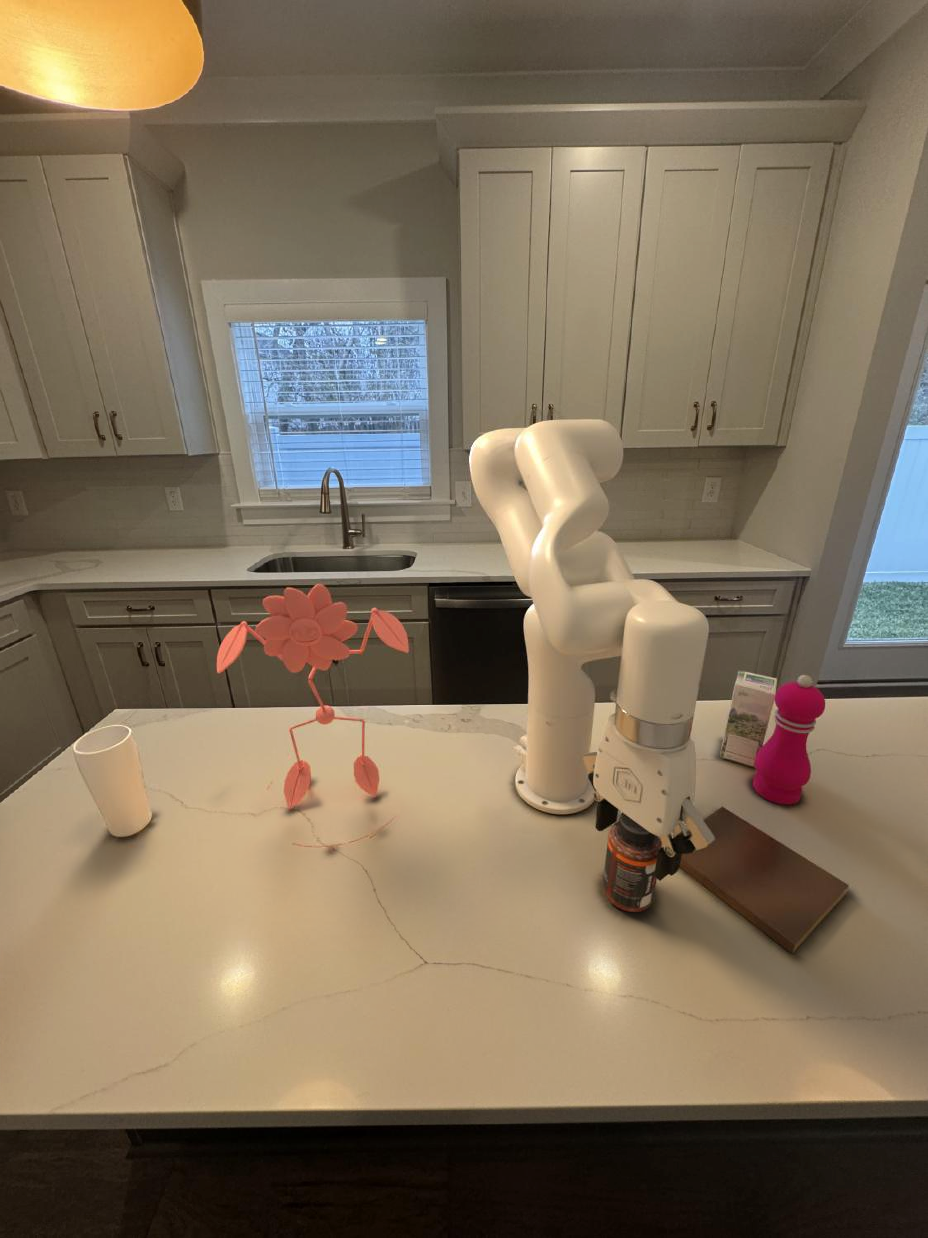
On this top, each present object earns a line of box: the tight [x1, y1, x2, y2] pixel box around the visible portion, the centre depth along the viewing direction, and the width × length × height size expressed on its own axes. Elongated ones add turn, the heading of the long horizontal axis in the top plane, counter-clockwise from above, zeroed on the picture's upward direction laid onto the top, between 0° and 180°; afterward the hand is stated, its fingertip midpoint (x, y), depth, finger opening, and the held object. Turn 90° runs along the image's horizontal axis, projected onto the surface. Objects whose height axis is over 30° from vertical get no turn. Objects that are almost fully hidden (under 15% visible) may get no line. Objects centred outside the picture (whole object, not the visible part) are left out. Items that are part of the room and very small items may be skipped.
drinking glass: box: [72, 724, 153, 838], centre depth 71 cm, size 7×7×15 cm
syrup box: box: [719, 670, 778, 769], centre depth 83 cm, size 6×6×14 cm
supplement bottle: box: [602, 811, 663, 913], centre depth 60 cm, size 6×6×11 cm
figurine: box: [216, 583, 409, 851], centre depth 69 cm, size 15×26×35 cm, turn 97°
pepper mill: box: [752, 674, 826, 805], centre depth 74 cm, size 7×7×20 cm
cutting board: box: [679, 806, 850, 954], centre depth 64 cm, size 16×13×2 cm
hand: (634, 847), depth 59 cm, fingers open, 7 cm apart
